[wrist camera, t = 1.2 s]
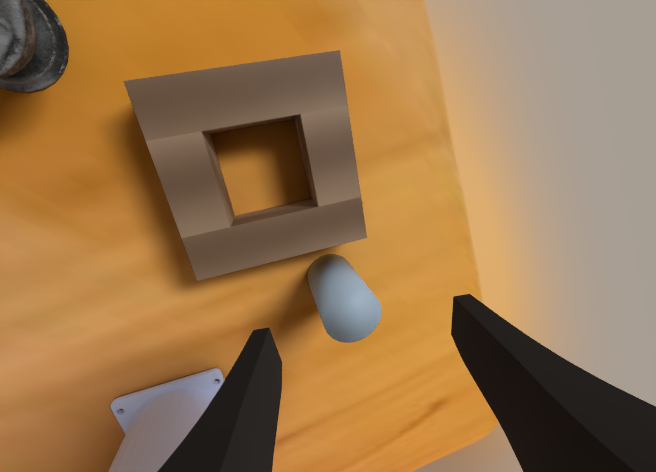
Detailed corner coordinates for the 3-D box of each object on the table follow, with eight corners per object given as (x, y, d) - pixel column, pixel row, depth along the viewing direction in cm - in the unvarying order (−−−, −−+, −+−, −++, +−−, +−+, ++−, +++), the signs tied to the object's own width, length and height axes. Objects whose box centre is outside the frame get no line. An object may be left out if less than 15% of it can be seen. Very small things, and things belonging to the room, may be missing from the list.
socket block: (353, 226, 22) (366, 237, 19) (205, 262, 20) (197, 280, 17) (327, 65, 18) (339, 50, 16) (146, 92, 17) (123, 81, 14)
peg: (354, 289, 24) (384, 332, 18) (312, 301, 23) (329, 349, 17) (347, 249, 22) (377, 282, 17) (303, 260, 22) (318, 298, 16)
